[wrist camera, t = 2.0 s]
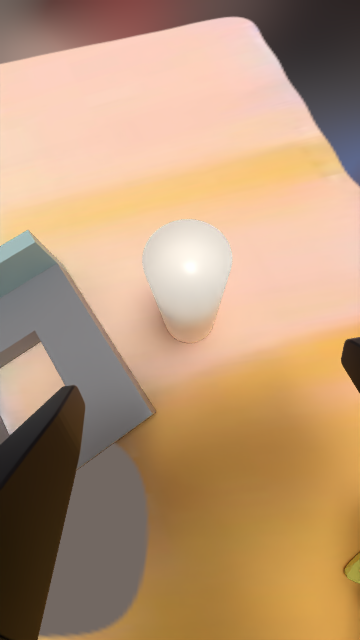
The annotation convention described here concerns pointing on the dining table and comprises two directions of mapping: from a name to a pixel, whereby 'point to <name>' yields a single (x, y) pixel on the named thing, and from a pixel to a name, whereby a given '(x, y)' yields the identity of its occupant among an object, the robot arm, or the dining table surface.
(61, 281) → the housing
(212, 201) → the dining table surface
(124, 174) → the dining table surface
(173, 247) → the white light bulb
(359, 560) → the sculpture
